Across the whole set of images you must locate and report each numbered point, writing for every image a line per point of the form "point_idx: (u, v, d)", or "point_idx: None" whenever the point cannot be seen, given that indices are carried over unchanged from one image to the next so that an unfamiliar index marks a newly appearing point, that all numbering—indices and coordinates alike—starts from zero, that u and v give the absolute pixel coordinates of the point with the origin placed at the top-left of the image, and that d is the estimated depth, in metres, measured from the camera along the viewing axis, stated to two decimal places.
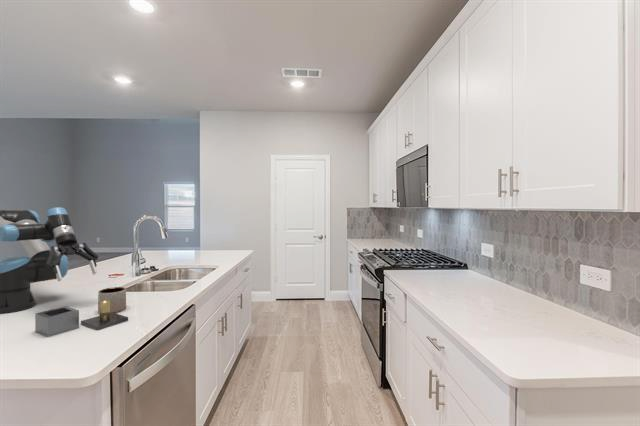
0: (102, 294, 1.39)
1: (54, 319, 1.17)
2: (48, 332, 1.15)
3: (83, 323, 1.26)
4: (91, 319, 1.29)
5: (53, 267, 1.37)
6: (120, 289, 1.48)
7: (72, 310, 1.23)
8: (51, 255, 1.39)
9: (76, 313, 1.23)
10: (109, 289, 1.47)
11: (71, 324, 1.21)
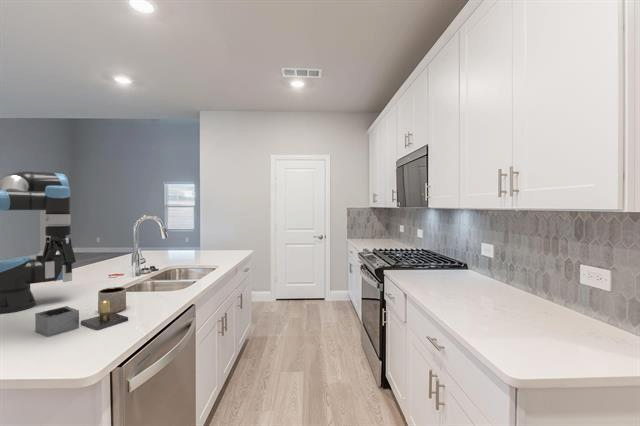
0: (102, 294, 1.39)
1: (54, 319, 1.17)
2: (48, 332, 1.15)
3: (83, 323, 1.26)
4: (91, 319, 1.29)
5: None
6: (120, 289, 1.48)
7: (72, 310, 1.23)
8: (45, 248, 1.24)
9: (76, 313, 1.23)
10: (109, 289, 1.47)
11: (71, 324, 1.21)
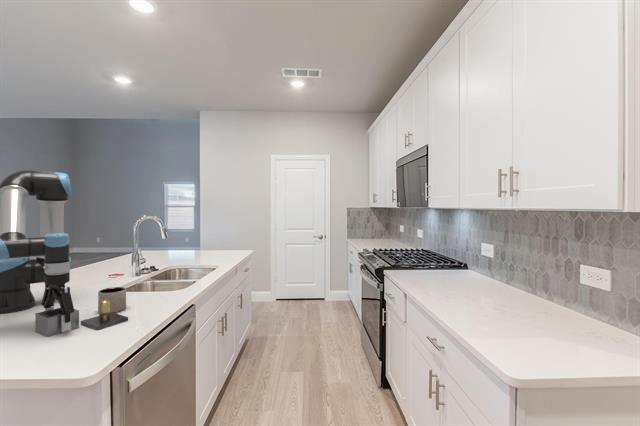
0: (102, 294, 1.39)
1: (54, 319, 1.17)
2: (48, 332, 1.15)
3: (83, 323, 1.26)
4: (91, 319, 1.29)
5: None
6: (120, 289, 1.48)
7: None
8: (44, 295, 1.24)
9: (76, 313, 1.23)
10: (109, 289, 1.47)
11: (71, 324, 1.21)
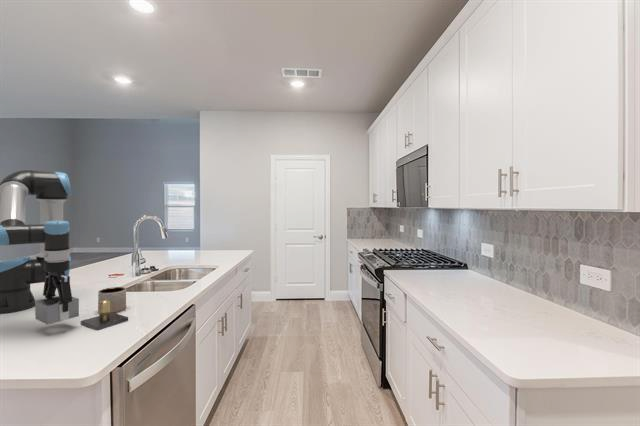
0: (102, 294, 1.39)
1: (54, 307, 1.17)
2: (48, 320, 1.15)
3: (83, 323, 1.26)
4: (91, 319, 1.29)
5: None
6: (120, 289, 1.48)
7: (72, 298, 1.23)
8: (45, 284, 1.24)
9: (76, 301, 1.23)
10: (109, 289, 1.47)
11: (71, 312, 1.22)
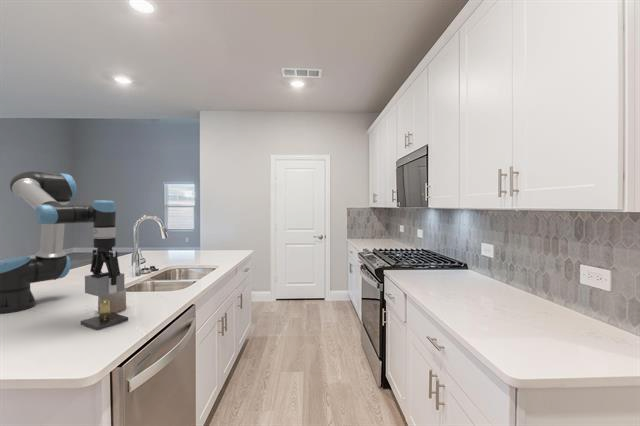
0: None
1: (104, 280, 1.24)
2: (99, 292, 1.22)
3: (83, 323, 1.26)
4: (91, 319, 1.29)
5: None
6: None
7: None
8: (92, 261, 1.31)
9: (122, 276, 1.30)
10: None
11: (118, 286, 1.29)
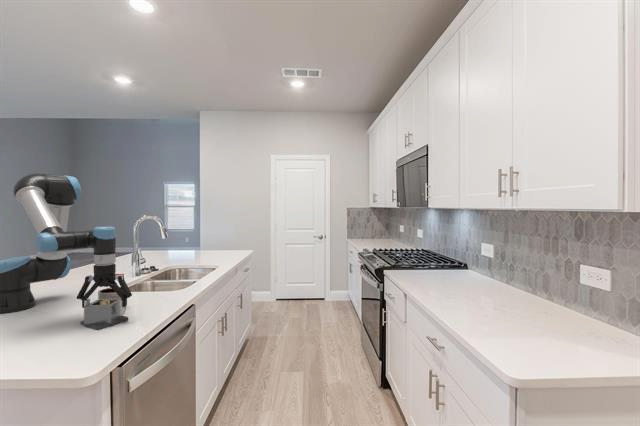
0: (102, 294, 1.39)
1: (114, 306, 1.27)
2: (111, 319, 1.25)
3: (83, 323, 1.26)
4: None
5: (83, 301, 1.27)
6: None
7: (117, 299, 1.33)
8: (83, 287, 1.27)
9: None
10: (109, 289, 1.47)
11: None
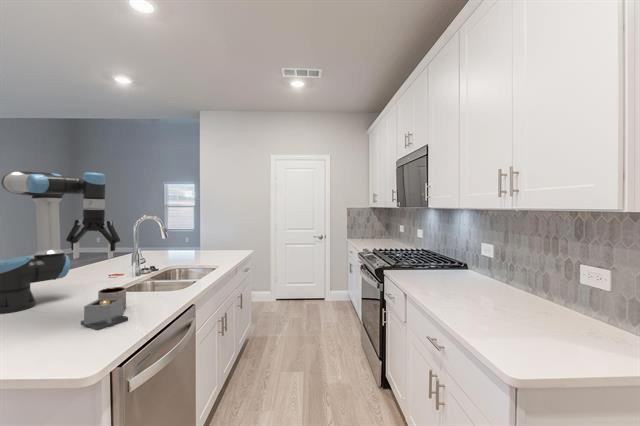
0: (102, 294, 1.39)
1: (114, 306, 1.27)
2: (111, 319, 1.25)
3: (83, 323, 1.26)
4: None
5: (72, 244, 1.32)
6: (120, 289, 1.48)
7: (117, 299, 1.33)
8: (72, 230, 1.31)
9: (122, 301, 1.34)
10: (109, 289, 1.47)
11: (120, 311, 1.32)
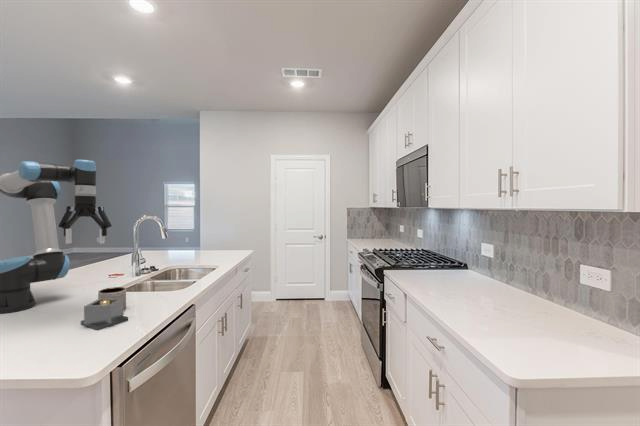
0: (102, 294, 1.39)
1: (114, 306, 1.27)
2: (111, 319, 1.25)
3: (83, 323, 1.26)
4: None
5: (64, 229, 1.36)
6: (120, 289, 1.48)
7: (117, 299, 1.33)
8: (64, 216, 1.35)
9: (122, 301, 1.34)
10: (109, 289, 1.47)
11: (120, 311, 1.32)
